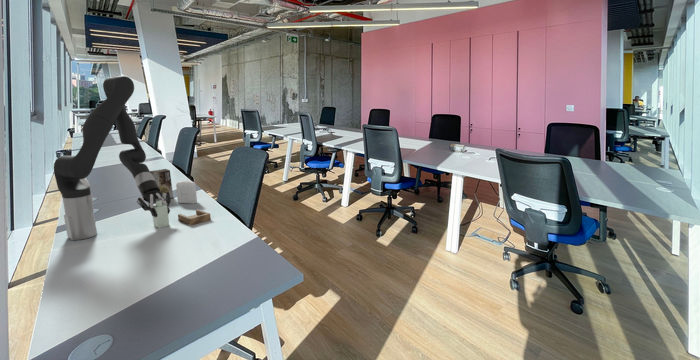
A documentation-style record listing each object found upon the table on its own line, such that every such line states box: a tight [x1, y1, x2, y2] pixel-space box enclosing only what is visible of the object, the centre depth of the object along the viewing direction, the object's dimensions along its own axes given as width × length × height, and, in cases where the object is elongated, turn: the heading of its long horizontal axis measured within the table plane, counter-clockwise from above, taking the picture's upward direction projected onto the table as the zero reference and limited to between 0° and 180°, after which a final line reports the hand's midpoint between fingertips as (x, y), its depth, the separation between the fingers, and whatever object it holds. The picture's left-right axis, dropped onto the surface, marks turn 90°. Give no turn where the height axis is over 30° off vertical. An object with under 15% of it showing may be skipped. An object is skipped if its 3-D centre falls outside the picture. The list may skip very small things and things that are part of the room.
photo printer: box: [175, 180, 198, 205], centre depth 196 cm, size 10×4×12 cm, turn 82°
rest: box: [177, 209, 212, 226], centre depth 168 cm, size 10×11×3 cm
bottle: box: [152, 198, 170, 229], centre depth 160 cm, size 5×5×12 cm
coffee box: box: [149, 168, 174, 200], centre depth 204 cm, size 9×6×16 cm
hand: (162, 214), depth 159 cm, fingers closed on bottle, 4 cm apart
